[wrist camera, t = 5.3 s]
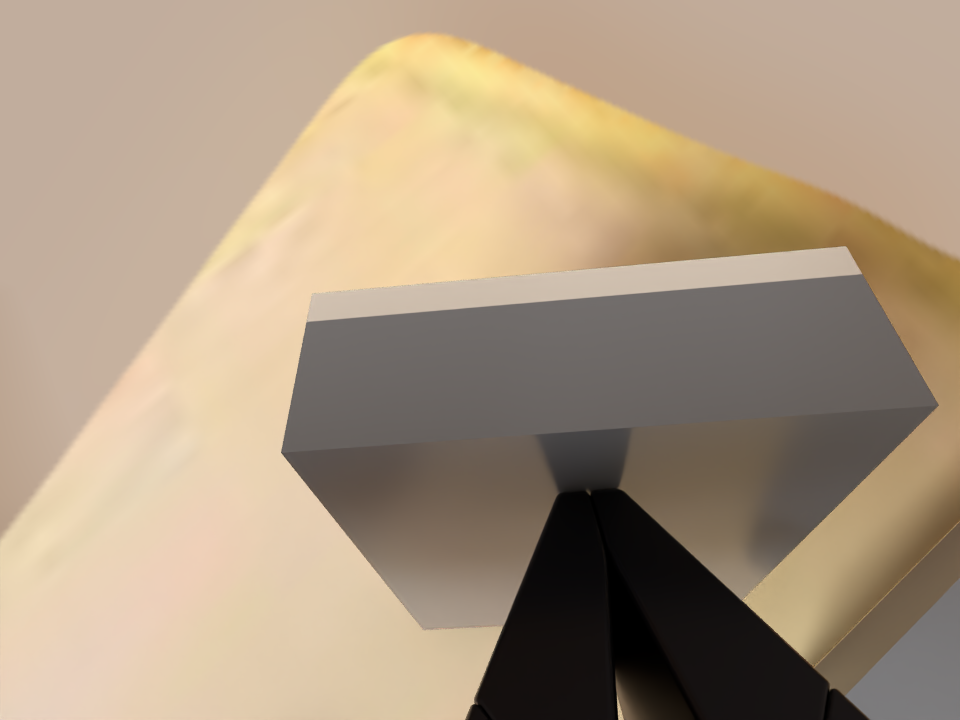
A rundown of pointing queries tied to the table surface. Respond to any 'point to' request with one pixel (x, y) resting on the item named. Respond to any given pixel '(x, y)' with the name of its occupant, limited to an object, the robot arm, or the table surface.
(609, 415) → the tile
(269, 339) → the table surface
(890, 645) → the twin tile
